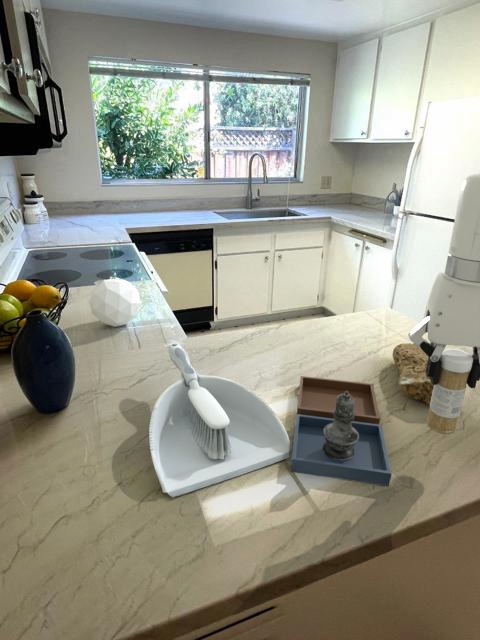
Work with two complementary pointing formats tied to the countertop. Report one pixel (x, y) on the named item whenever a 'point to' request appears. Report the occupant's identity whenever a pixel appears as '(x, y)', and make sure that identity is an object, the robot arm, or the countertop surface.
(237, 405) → the dustpan and brush
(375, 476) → the tray blue
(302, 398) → the tray walnut
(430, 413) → the sprinkles bottle
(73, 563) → the countertop surface
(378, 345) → the countertop surface
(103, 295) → the geodesic sphere
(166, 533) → the countertop surface
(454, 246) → the robot arm
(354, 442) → the grey stone figurine
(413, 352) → the sponge
